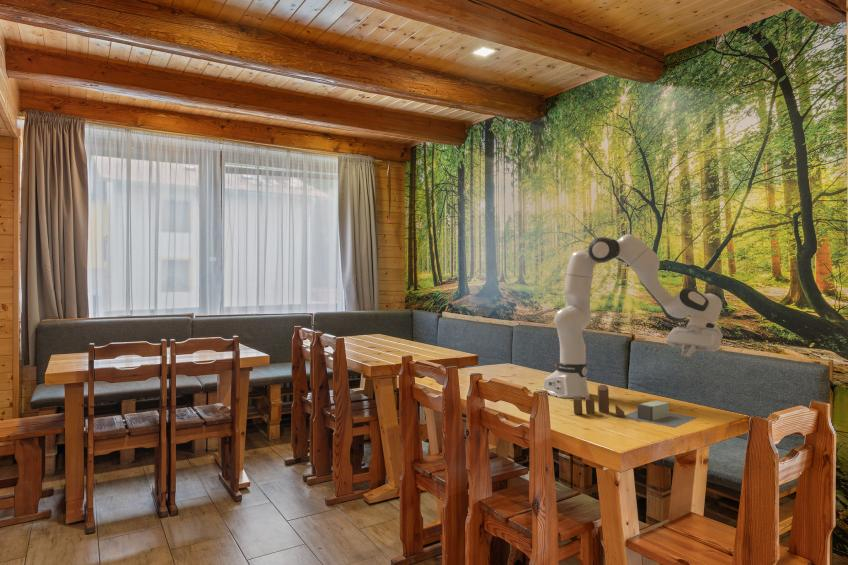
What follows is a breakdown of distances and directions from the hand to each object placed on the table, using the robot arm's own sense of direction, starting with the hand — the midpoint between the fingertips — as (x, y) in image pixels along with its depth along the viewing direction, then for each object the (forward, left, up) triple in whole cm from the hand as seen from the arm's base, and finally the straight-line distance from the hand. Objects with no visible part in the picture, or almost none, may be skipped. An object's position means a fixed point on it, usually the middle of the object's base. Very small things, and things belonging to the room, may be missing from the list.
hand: (685, 355), depth 216 cm
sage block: (-2, -16, -18) cm, 24 cm away
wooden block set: (-19, -31, -21) cm, 43 cm away
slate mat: (-1, -20, -21) cm, 30 cm away
